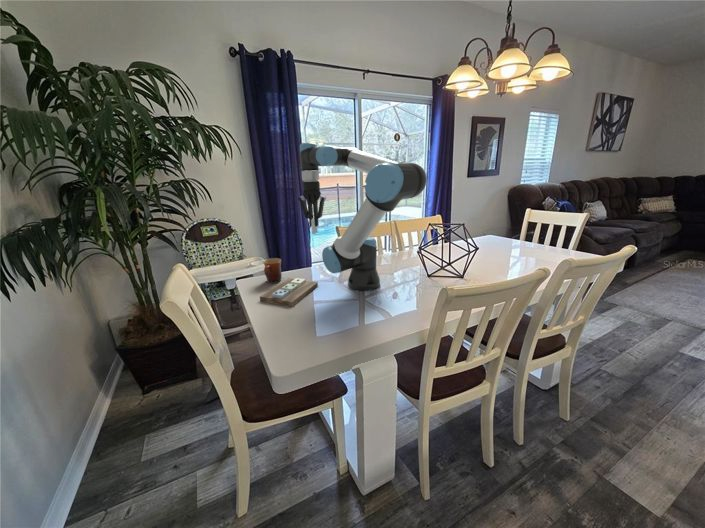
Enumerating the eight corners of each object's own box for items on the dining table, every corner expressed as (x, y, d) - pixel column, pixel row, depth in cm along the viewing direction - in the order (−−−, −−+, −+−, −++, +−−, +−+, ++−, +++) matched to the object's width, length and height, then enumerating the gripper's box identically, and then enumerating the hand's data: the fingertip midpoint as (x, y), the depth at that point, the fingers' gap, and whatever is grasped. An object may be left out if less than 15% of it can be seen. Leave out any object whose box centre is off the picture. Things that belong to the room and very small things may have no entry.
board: (317, 286, 136) (317, 282, 135) (292, 306, 116) (292, 302, 116) (288, 281, 141) (288, 278, 140) (260, 300, 122) (259, 296, 121)
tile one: (306, 285, 136) (305, 278, 135) (300, 289, 132) (300, 282, 131) (296, 284, 138) (296, 277, 137) (291, 288, 133) (290, 281, 132)
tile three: (289, 297, 124) (289, 290, 123) (283, 302, 119) (282, 294, 118) (280, 295, 126) (279, 288, 124) (273, 300, 121) (272, 293, 120)
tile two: (298, 291, 130) (297, 284, 129) (292, 295, 126) (291, 288, 124) (288, 289, 132) (288, 282, 131) (282, 294, 127) (281, 287, 126)
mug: (270, 276, 149) (268, 257, 145) (286, 277, 147) (284, 258, 144) (258, 285, 137) (256, 265, 134) (275, 286, 136) (273, 266, 132)
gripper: (327, 180, 129) (330, 231, 136) (301, 180, 132) (305, 231, 139) (321, 180, 122) (324, 235, 129) (293, 181, 125) (298, 234, 133)
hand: (314, 233), depth 134 cm, fingers closed
